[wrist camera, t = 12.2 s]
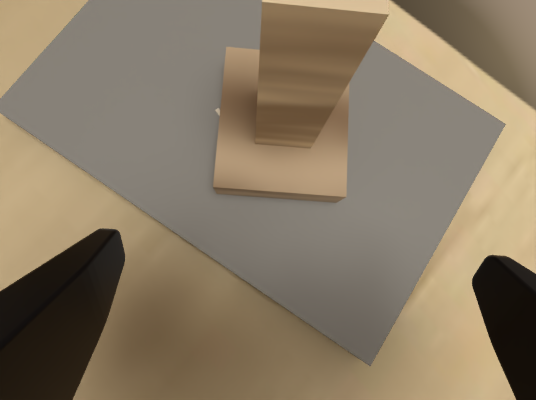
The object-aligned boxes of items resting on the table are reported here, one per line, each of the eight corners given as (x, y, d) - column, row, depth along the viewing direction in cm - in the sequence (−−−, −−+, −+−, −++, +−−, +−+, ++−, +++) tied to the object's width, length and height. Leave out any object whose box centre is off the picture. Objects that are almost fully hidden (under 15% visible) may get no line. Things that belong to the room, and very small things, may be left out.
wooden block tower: (336, 202, 19) (475, 122, 7) (216, 193, 19) (162, 94, 7) (340, 77, 21) (463, -163, 9) (228, 66, 20) (198, -196, 8)
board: (488, 132, 22) (506, 124, 21) (361, 357, 19) (370, 366, 18) (174, -68, 23) (169, -90, 22) (10, 118, 20) (-8, 107, 19)
